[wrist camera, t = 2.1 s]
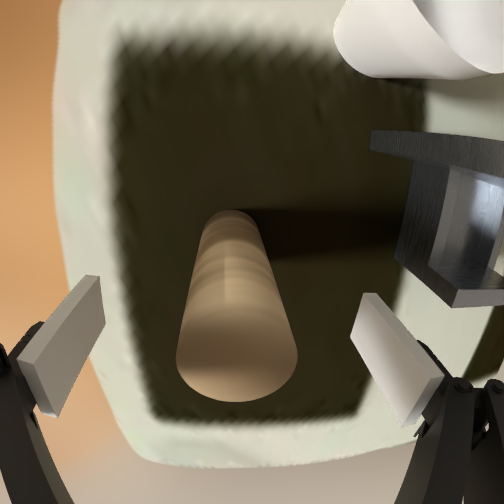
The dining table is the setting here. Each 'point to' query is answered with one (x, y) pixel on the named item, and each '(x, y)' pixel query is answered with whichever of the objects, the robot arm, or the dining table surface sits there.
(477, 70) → the cup
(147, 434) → the dining table surface
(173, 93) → the dining table surface
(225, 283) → the wooden dowel
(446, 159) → the bracket
